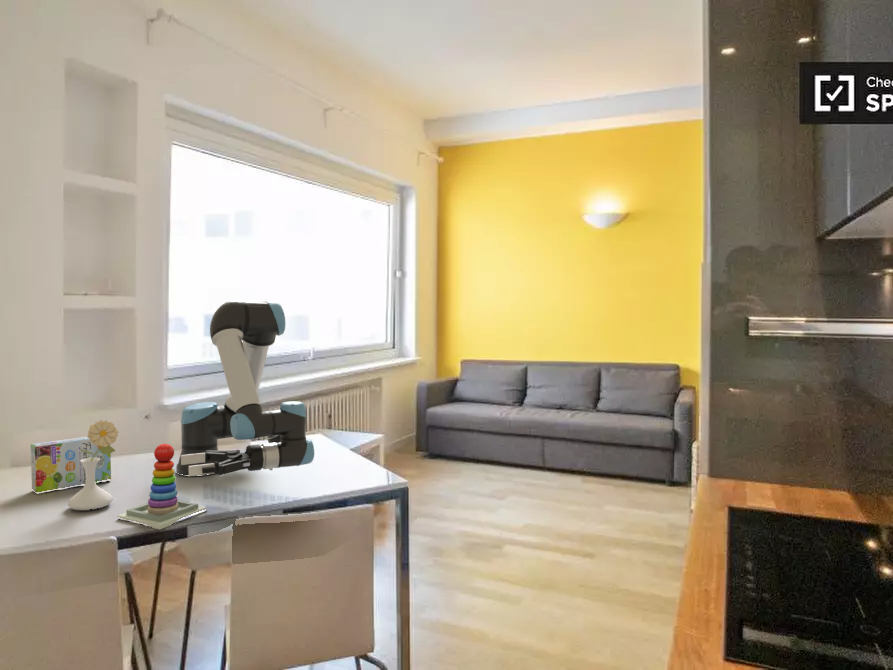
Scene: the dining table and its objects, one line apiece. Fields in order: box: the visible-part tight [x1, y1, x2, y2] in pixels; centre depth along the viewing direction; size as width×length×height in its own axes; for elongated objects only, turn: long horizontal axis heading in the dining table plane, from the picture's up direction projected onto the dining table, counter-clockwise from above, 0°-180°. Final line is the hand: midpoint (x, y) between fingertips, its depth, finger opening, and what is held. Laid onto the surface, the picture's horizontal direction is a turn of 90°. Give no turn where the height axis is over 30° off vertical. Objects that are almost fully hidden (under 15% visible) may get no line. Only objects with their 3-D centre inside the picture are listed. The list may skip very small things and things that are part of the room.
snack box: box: [30, 436, 112, 492], centre depth 204 cm, size 21×6×15 cm, turn 134°
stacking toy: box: [147, 443, 179, 515], centre depth 178 cm, size 8×8×19 cm
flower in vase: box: [67, 419, 119, 511], centre depth 185 cm, size 13×11×25 cm
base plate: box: [117, 499, 207, 530], centre depth 179 cm, size 16×16×2 cm
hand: (184, 465), depth 181 cm, fingers open, 13 cm apart
